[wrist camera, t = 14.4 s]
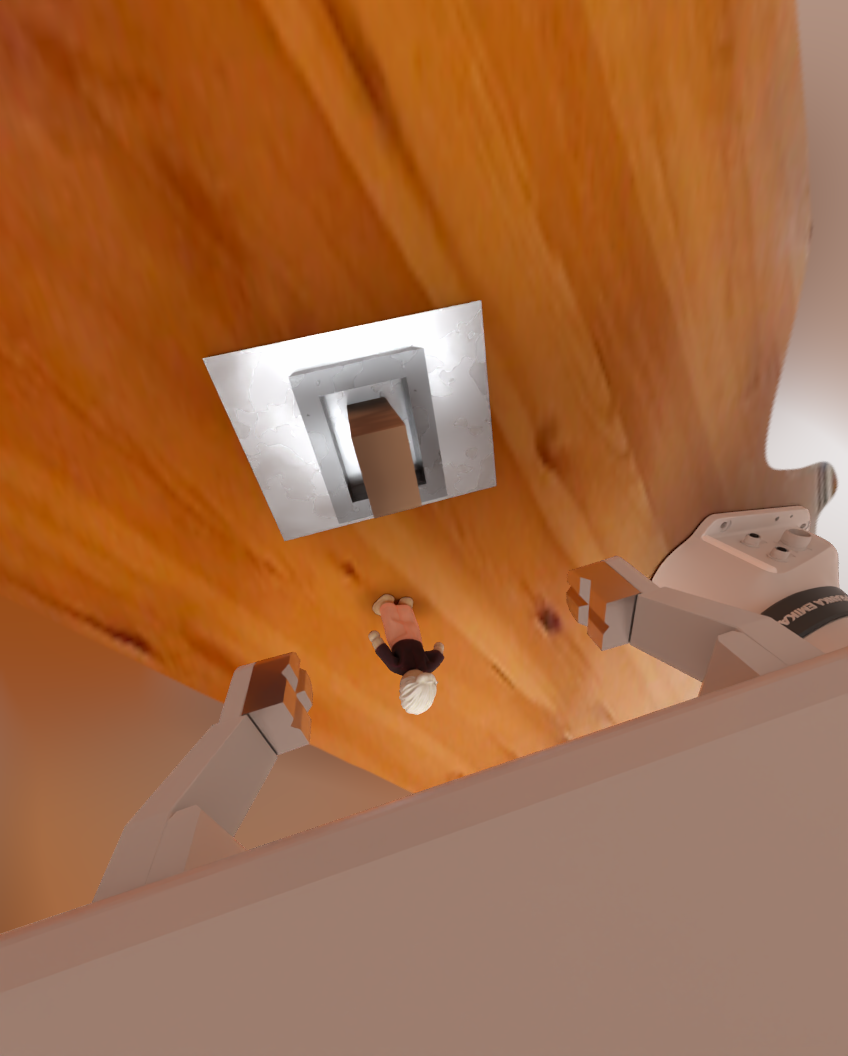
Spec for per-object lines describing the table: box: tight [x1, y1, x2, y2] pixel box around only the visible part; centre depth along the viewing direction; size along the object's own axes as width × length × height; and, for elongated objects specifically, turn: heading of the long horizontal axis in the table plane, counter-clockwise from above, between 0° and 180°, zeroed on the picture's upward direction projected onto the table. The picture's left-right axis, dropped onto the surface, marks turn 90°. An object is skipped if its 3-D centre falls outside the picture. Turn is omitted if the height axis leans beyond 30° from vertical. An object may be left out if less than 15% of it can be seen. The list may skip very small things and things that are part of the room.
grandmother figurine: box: [369, 594, 444, 715], centre depth 34 cm, size 8×4×13 cm, turn 78°
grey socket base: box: [202, 300, 496, 541], centre depth 28 cm, size 20×15×5 cm
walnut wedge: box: [347, 397, 422, 518], centre depth 25 cm, size 3×5×10 cm, turn 10°
